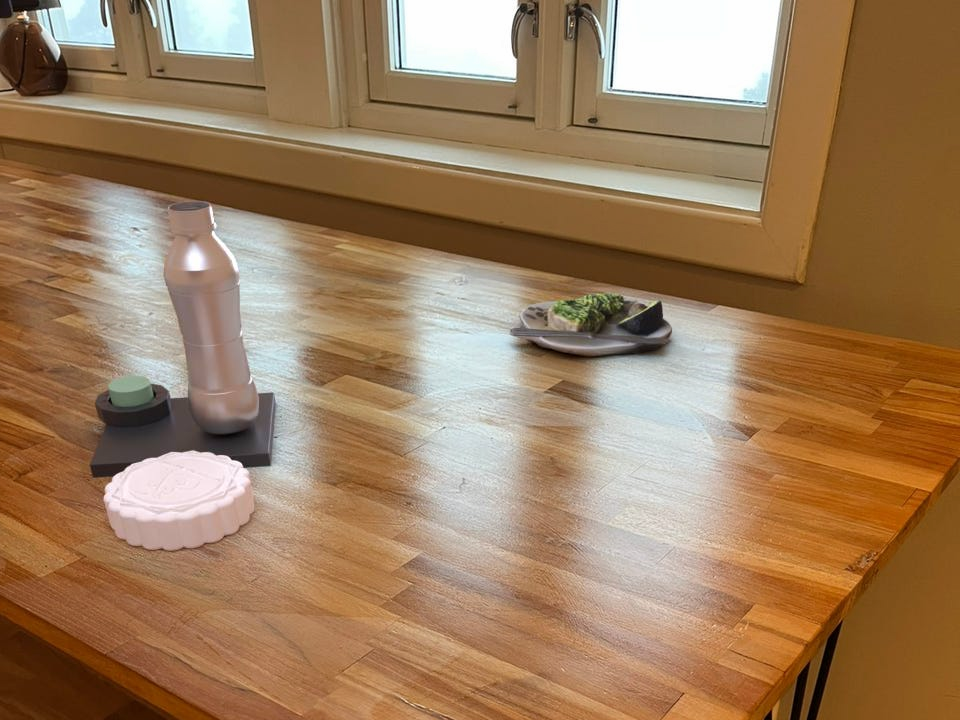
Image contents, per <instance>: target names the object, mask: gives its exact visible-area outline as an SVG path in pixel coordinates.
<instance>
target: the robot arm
mask: <svg viewBox="0 0 960 720" xmlns="http://www.w3.org/2000/svg"><path fill="white" fill-rule="evenodd" d="M41 4H42V1H41V0H0V19H10V18H12V17H13V16H14V9H30V8H31V9H32V8H33V9H35V8H39V7H41Z"/></svg>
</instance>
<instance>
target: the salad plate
mask: <svg viewBox="0 0 960 720" xmlns="http://www.w3.org/2000/svg"><path fill="white" fill-rule="evenodd" d="M518 316H519V320H520V322H521V324H522V327H513V328H511V329H510V330H509V335H510V336H512V337H516V338H519V339H523V340H528V341H531V342H533V343H535V344H537V346H538V347H541V348H544V349H548V350H552V351H556V352H560V353H564V354H570V355H575V356H580V357H600V356H602V357H603V356H613V355H628V354H630V355H631V354H632V355H633V354H638V353H647V352H651V351H655V350H657V349H659V348H661V347H662V346H663V345H665V344H668V343H672V340H671V339H670V336H672V334H673V328H672V325H671V324H670V323H669V321H667V320H666V319H665V318H664V310H663V303H662V301H661V300H660V299H655V300H654V301H652V302H649V303H648V304H647V303H645V302H643V301H641V300H639V299H638V298H637V299H636V298H633V297H629V296H623V295H621V294H618V295H617V294H616V293H613V294H612V293H597V292H596V293H595V294H594V295H593V294H591V293H590V294H589V295H584V296H582V297H581V298H571V299H568V300H567V299H559V300H553V301H545V302H536V303H533V304H531V305H529V306H527V307H525V308H524V309H523V310H522V311H521V313H520V314H519V315H518Z"/></svg>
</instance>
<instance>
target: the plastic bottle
mask: <svg viewBox="0 0 960 720" xmlns="http://www.w3.org/2000/svg"><path fill="white" fill-rule="evenodd" d="M166 209H167V215H168V220H169V224H168V225H169V226H168V227H169V231H170V233H172V234H174V239H173V241H172V244H171V245H170V247H169V249H168V252H167V254H166V257H165V260H164V263H163V264H164V266H163V278H164V283H165V286H166V287H167V292H168V295H169V298H170V300H171V304H172V306H173V310H174V312H175V315H176V319H177V323H178V327H179V331H180V335H181V336H182V339H181V340H182V343H183V348H184V354H185V355H184V356H185V363H186V372H187V373H186V375H187V382H188V383H187V397H188V406H189V410H190V412H191V415H192V418H193V420H194V422H195V423H196V424H197V425H198V426H199V427H200V428H201V429H202V430H203V431H205V432H207V433H212V434H230V433H235V432H239V431H242V430H244V429H247V428H248V427H250V426H251V425H252V424H253V423H254V422H255V420H256V418H257V416H258V413H259V396H258V393H259V392H258V389H257V386H256V383H255V381H254V378H253V376H252V374H251V369H250V364H249V360H248V357H247V352H246V349H245V344H244V337H243V331H242V319H241V300H240V299H241V296H240V295H241V294H240V289H241V288H240V287H241V285H240V279H241V278H240V268H239V264H238V262H237V259H236V258H235V256H234V254H233V253H232V252H231V251H230V249H229V248H228V247H227V245H225V243H224V242H223V241H222V240H221V239H220V238H219V237H218V235H216V234H215V233H216V232H215V230H216V229H217V222H216V220H215V217H214V212H213V206H212V204H211V202H209V201H203V200H189V201H187V200H186V201H180V202H176V203H172V204H170V205H168V206H167V208H166Z"/></svg>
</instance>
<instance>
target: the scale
mask: <svg viewBox="0 0 960 720" xmlns="http://www.w3.org/2000/svg"><path fill="white" fill-rule="evenodd" d="M151 387H152V391H153V396H154V399H153V400H151V401H150V402H148V403H145V404H141V405H138V406H130V407H120V406H115V405H113V404H112V401H111V397H110V393H109V390H108V389H106V390H105V391H103V392H101V393H99V394H98V395H97V396H96V399H95V401H94V405H95V409H96V413H97V417H98V419H99V420H100V421H102V422H103V424H105V427H104V428H103V431H102V433H101V436H100V438H99V441H98V443H97V446H96V448H95V451H94V453H93V455H92V458H91V460H90V463H89V468H90V471H91V474H92V478H93V479H95V478H111V477H112V478H113V477H114V476H115V475H116V474H118V473H120V472H123V471H124V470H125V469H126V468H127V467H128V466H131V464H134V463H138V462H142V461H143V460H145V459H148V458H158V457H160V456H162V455H165V454H168V453H170V452H179V453H183V452H188V451H193V450H194V451H197V452H200V453H203V452H210V453H213V454H215V455H216V456H217V455H225V456H228V457H229V458H230V459H231V460H234V461H238V462H240V463H241V464H242V465H243V468H244V469H247V468H262V467H271V465H272V457H273V456H272V454H273V445H274V444H273V443H274V431H275V420H276V408H277V402H276V396H275V395H276V394H275V392H273V391H272V392H271V391H270V392H257V393H258V396H259V413H258V416H257V418H256V420H255V422H254V423H253V424H252V425H251V426H250V427H248V428H247V429H244V430H242V431H239V432H235V433H230V434H212V433H207V432H205V431H203V430H202V429H201V428H200V427H199V426H198V425H197V424H196V423H195V422H194V420H193V418H192V415H191V412H190V410H189V406H188V396H186V397H171V394H170V391H169V389H167V388H166V387H164V386H163V385H161V384H158V383H157V384H156V383H151Z"/></svg>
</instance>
